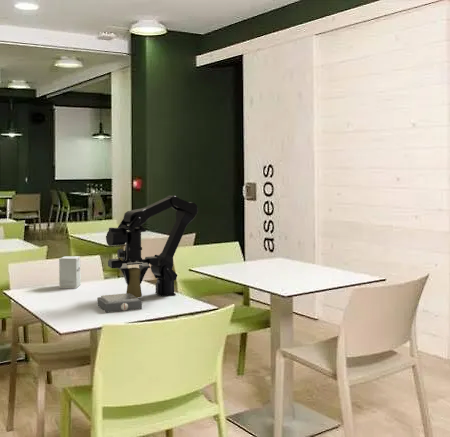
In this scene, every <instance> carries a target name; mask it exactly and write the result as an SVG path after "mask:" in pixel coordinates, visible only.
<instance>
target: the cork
mask: <svg viewBox="0 0 450 437" xmlns="http://www.w3.org/2000/svg"><path fill="white" fill-rule="evenodd" d="M128 268H129V285H127V284H126V285H127V286H126V293H131V294H132V295H134V296H135V297H137V298H138V299H139V298H142V296H143V293H142V286H141V284H140V278H139V276H140V274H141V271H140V269H139V267H128Z"/></svg>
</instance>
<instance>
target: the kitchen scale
mask: <svg viewBox="0 0 450 437" xmlns="http://www.w3.org/2000/svg"><path fill="white" fill-rule="evenodd" d="M97 307H98V308H100V309H101V310H102V311H104V313H117V312H128V311H136V310H142V309H143V300H141V299H139V297H138V298H137V297H135V296H134V295H132V294H131V293H127V292H125V293H117V294H116V293H114V294H105V295H103V294H102V295H100V296H99V297H97Z"/></svg>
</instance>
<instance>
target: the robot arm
mask: <svg viewBox="0 0 450 437" xmlns="http://www.w3.org/2000/svg"><path fill="white" fill-rule="evenodd" d="M171 208H172V209H173V210H175V211H176V212H175V222H174V225H173V227H172V229H171V231H170V233H169V235H168V238H167V240H166V243H165V245H164V247H163V248H162V251H161V253H160V254H154V255H153V256H145V258H143V257H142V250H143V247H142V233H146V232H147V229H146V228H145V227H143V225H144V224H145V223H146V222H147V221H148V220H149V219H150V218H151V217H153V216H156V215H158V214H160V213H162V212H164V211H167V210H168V209H171ZM198 213H199V208H198V205H197V204H196V202H193V201H186V200H184V199H182V198H180V197H178V196H176V195H167V196H166V197H165V198H162V199H160V200H158V201H156V202H154V203H151V204H149V205H146V206H144V207H142V208H137V209H135V208H134V209H131V210H128V211H126V212H125V213H124V214H123V218H122V220H121V222H120V223H119V225H118V227H108V231H107V233H106V236H105V240H106V244H107V246H109V247H113V246H114V247H115V246H124V245H125V247H124V249H123V248H120V249H119V248H118V249H117V250H116V253H117V254H116V255H117V258H109V259H108V261H107V267H109V268H110V269H118V270H120V271H121V273H122V275H123V278H124V281H125V283H126V285H129V268H130V267H128V266H130V265H131V266H132V265H138V268H139V269H140V271H141V274H140V276H139V278H140V285H142V282H143V279H144V277H145V276H146V273H147V271H148V269H150V271H151V273H152V274H153V276H154V278H155V279H156V282H155V294H156V295H158V296H160V297H165V296H166V297H168V296H176V293H175V281H176V280H177V278H178V274H177V273H176V271H174V270H173V268H174V257H175V253H176V252H177V249H178V247H179V244H180V243H181V240H182V238H183V235H184V233H185V231H186V229H187V226H188V225H189V224H190V223H191V222H192V221H193V220H194V219H196V216H197V214H198ZM121 258H122V259H121Z"/></svg>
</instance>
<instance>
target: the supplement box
mask: <svg viewBox="0 0 450 437" xmlns="http://www.w3.org/2000/svg"><path fill="white" fill-rule="evenodd" d="M58 266H59V267H58V268H59V270H58V271H59V272H58V273H59V277H58V280H59V283H58V284H59V289H74V288H76V289H77V288H79V287H80V286H81V256H80V255H79V256H75V255H73V256H71V255H70V256H69V255H67V256H62V257H60V258H59V261H58Z"/></svg>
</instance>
